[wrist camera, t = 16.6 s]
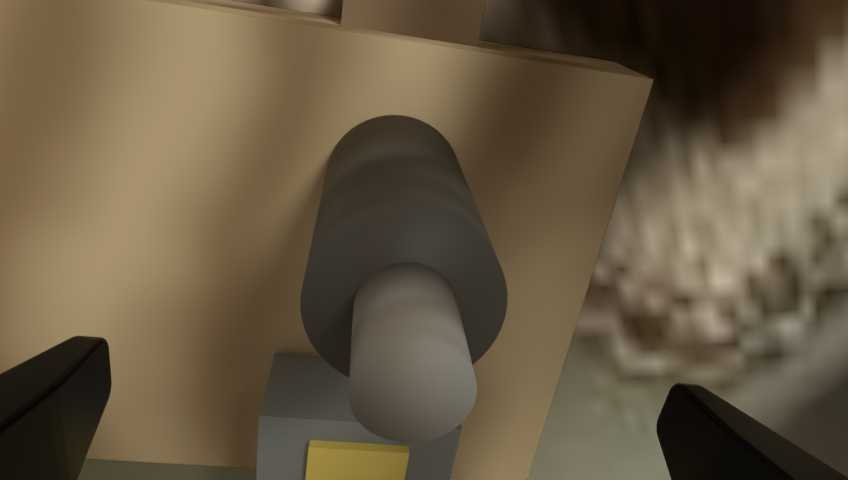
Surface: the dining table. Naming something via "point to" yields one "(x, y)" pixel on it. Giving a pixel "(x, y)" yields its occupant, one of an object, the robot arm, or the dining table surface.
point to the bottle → (402, 279)
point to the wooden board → (279, 198)
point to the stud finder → (334, 432)
